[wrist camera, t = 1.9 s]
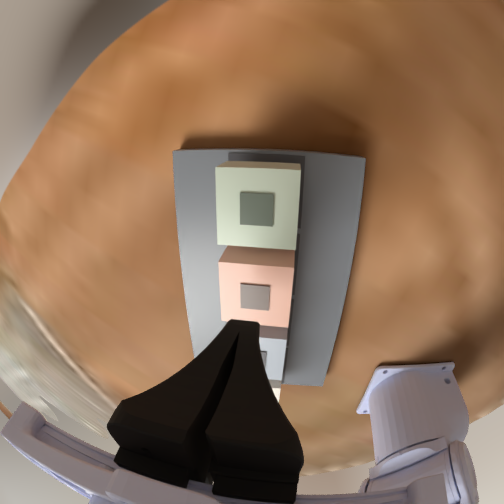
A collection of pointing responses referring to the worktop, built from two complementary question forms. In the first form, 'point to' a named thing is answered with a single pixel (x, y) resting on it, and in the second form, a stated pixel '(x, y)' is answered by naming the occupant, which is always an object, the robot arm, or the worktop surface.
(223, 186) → the key
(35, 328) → the worktop surface
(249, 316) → the key
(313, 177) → the keypad board
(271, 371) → the key
